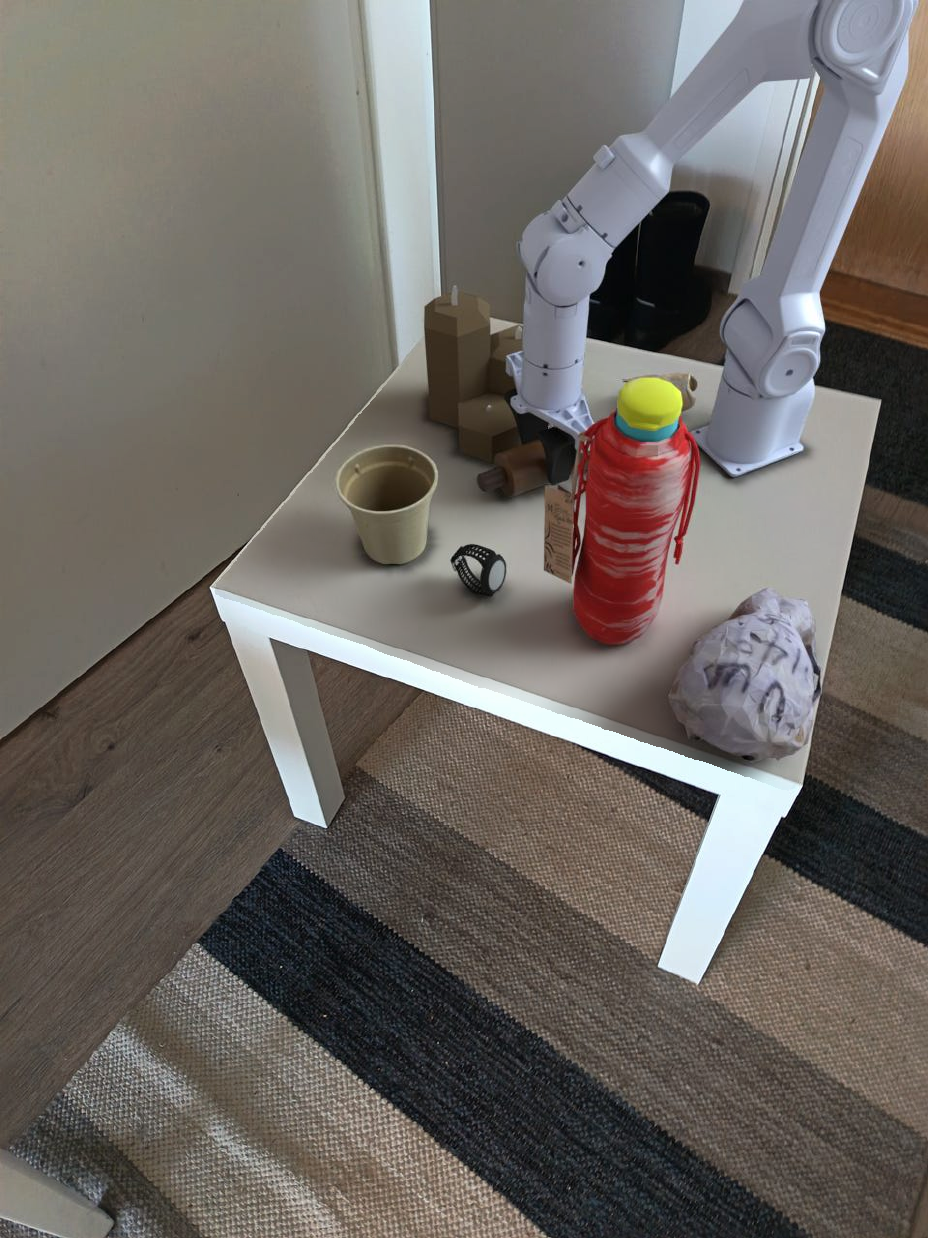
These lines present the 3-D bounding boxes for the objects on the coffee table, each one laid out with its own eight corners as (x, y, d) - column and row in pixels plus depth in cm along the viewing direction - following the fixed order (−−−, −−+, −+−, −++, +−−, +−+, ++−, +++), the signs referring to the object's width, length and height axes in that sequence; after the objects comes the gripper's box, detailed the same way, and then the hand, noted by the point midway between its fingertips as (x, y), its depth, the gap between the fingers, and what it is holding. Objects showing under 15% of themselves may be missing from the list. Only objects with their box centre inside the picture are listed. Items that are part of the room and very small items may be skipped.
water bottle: (520, 635, 77) (529, 407, 58) (543, 572, 82) (559, 341, 63) (653, 668, 75) (710, 440, 55) (669, 601, 79) (727, 369, 60)
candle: (399, 431, 96) (386, 309, 84) (458, 367, 103) (454, 246, 92) (507, 468, 91) (510, 344, 80) (561, 398, 99) (571, 276, 87)
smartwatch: (480, 613, 79) (479, 576, 75) (447, 580, 82) (445, 543, 78) (515, 592, 81) (516, 555, 77) (481, 560, 83) (481, 523, 79)
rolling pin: (595, 442, 94) (599, 408, 90) (618, 467, 91) (623, 433, 88) (471, 486, 90) (470, 452, 86) (491, 514, 87) (491, 480, 84)
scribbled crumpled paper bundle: (745, 611, 80) (778, 529, 73) (863, 680, 75) (911, 599, 68) (626, 729, 70) (651, 647, 63) (753, 818, 65) (797, 739, 58)
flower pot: (330, 564, 83) (316, 498, 77) (372, 501, 89) (362, 434, 82) (419, 589, 81) (412, 523, 74) (456, 523, 86) (453, 456, 80)
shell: (626, 423, 96) (620, 382, 94) (628, 415, 100) (623, 375, 98) (700, 411, 94) (695, 369, 92) (699, 402, 98) (695, 361, 96)
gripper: (478, 323, 82) (479, 437, 92) (555, 407, 74) (547, 521, 84) (543, 304, 84) (537, 417, 94) (625, 383, 75) (608, 498, 86)
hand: (545, 465), depth 89 cm, fingers closed on rolling pin, 4 cm apart
